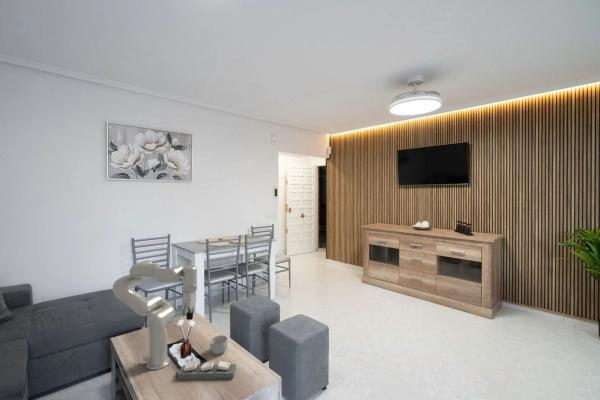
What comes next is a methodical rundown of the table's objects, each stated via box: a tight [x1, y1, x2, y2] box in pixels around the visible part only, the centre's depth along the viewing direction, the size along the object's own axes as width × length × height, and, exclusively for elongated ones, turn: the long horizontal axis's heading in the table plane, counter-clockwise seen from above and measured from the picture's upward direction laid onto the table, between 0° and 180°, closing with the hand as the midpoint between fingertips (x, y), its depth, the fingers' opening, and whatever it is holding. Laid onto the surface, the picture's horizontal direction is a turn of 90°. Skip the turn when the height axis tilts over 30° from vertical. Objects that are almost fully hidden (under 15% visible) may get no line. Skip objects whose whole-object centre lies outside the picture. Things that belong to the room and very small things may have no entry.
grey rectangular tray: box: [176, 363, 237, 381], centre depth 159 cm, size 32×8×4 cm, turn 92°
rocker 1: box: [184, 361, 199, 371], centre depth 158 cm, size 6×4×2 cm
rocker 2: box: [201, 360, 215, 371], centre depth 159 cm, size 6×4×2 cm
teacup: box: [209, 333, 228, 355], centre depth 183 cm, size 14×11×8 cm
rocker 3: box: [217, 360, 231, 370], centre depth 159 cm, size 6×4×2 cm
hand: (189, 319), depth 164 cm, fingers closed
